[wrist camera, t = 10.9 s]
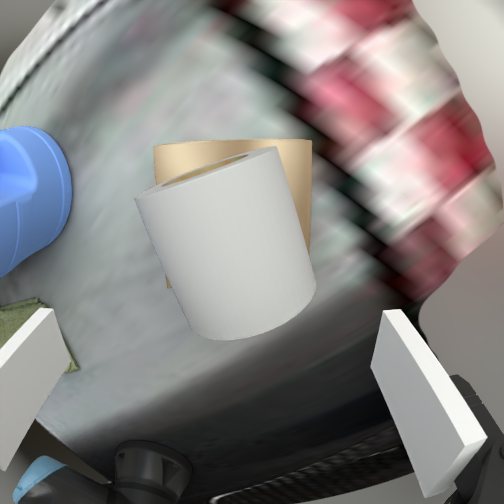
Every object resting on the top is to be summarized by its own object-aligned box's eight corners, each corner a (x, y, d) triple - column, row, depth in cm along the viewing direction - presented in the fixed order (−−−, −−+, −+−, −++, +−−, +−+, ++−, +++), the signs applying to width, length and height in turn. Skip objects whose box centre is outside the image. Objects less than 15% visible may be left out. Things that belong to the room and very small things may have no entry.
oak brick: (181, 260, 36) (167, 288, 30) (172, 142, 32) (153, 146, 25) (297, 258, 36) (307, 286, 30) (299, 138, 32) (311, 140, 25)
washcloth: (85, 366, 43) (77, 379, 40) (16, 368, 44) (8, 379, 41) (46, 291, 38) (35, 302, 35) (-18, 306, 40) (-29, 315, 37)
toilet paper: (305, 255, 29) (329, 315, 19) (199, 286, 30) (178, 353, 20) (271, 143, 25) (284, 150, 16) (157, 182, 26) (110, 211, 17)
